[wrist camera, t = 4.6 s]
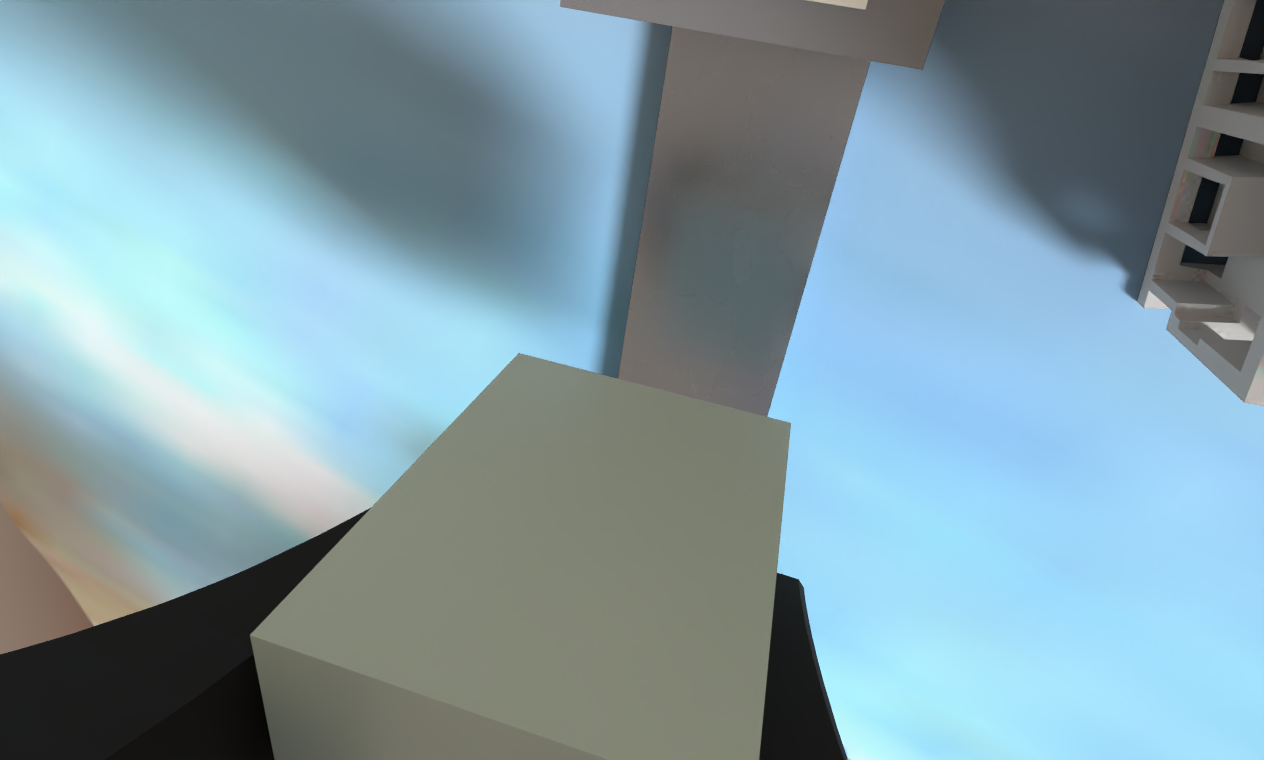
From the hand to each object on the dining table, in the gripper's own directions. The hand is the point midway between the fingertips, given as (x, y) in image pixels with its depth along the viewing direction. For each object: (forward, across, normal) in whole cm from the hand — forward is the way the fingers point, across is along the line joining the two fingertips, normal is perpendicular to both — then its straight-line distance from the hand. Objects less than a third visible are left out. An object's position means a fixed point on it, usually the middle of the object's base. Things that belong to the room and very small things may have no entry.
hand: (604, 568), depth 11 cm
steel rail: (+8, 0, 0) cm, 8 cm away
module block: (+2, 0, 0) cm, 2 cm away
